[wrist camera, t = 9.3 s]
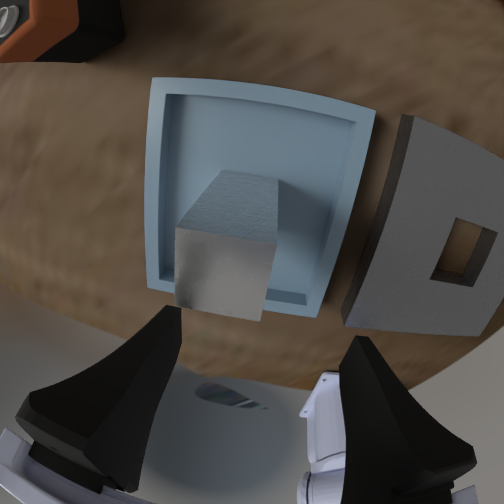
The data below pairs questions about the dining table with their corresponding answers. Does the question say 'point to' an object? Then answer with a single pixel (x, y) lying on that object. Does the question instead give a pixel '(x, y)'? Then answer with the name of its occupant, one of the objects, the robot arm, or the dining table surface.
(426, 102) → the dining table surface
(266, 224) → the pin
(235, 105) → the tray
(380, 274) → the pin plate
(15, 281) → the dining table surface
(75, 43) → the battery
